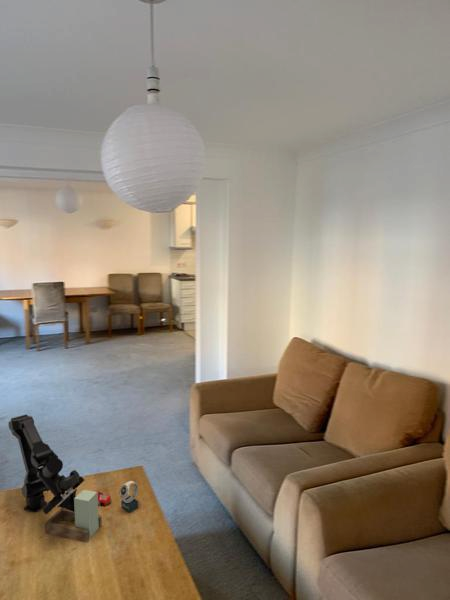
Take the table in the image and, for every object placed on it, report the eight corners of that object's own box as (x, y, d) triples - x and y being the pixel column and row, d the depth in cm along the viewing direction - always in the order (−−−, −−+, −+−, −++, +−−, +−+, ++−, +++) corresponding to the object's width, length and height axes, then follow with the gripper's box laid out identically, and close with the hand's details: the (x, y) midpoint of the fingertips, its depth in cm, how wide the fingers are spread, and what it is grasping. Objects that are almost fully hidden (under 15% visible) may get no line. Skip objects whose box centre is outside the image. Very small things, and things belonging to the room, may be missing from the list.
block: (75, 535, 160) (74, 498, 158) (85, 525, 165) (83, 489, 163) (89, 538, 158) (88, 501, 156) (98, 528, 164) (97, 492, 162)
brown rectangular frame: (45, 533, 161) (44, 523, 160) (61, 517, 171) (61, 507, 170) (87, 542, 156) (86, 532, 156) (101, 525, 166) (101, 515, 165)
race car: (113, 500, 182) (113, 491, 182) (107, 508, 177) (107, 499, 176) (85, 496, 185) (85, 487, 185) (78, 503, 180) (78, 494, 179)
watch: (117, 509, 176) (116, 484, 174) (133, 500, 182) (132, 476, 180) (125, 515, 172) (125, 489, 171) (141, 506, 178) (141, 481, 177)
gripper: (48, 481, 152) (76, 515, 150) (79, 456, 170) (105, 486, 168) (30, 498, 155) (58, 531, 153) (63, 472, 173) (88, 502, 171)
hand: (78, 511), depth 162 cm, fingers closed, pressing on block
